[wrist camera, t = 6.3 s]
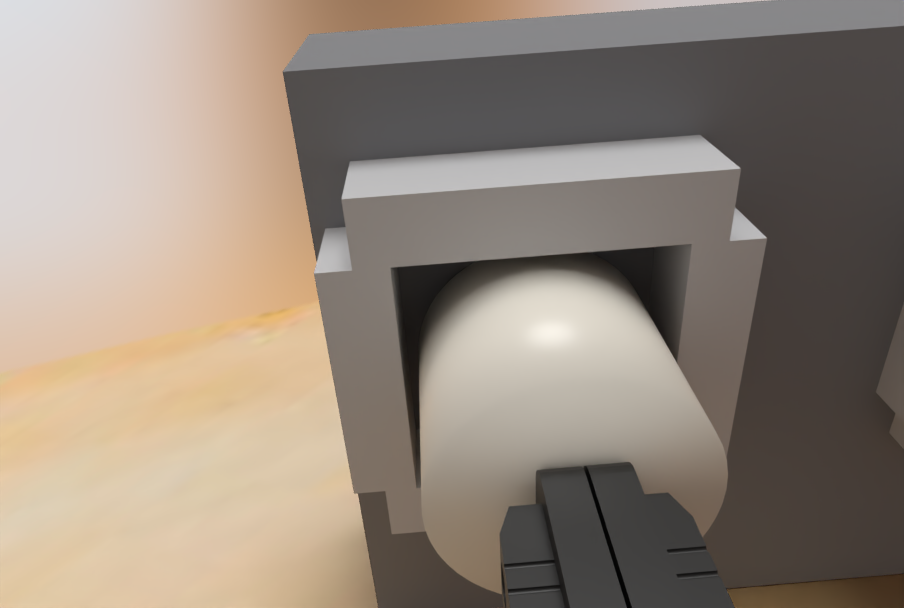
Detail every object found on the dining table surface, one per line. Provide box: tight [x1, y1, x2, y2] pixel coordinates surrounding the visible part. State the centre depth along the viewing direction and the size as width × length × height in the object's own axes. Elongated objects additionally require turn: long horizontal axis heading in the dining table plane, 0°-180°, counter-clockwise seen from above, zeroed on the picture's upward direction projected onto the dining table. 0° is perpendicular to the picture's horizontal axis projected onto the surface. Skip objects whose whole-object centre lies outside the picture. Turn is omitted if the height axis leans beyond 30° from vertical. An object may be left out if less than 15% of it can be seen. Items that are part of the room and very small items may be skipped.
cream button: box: [418, 252, 728, 594], centre depth 13 cm, size 4×5×5 cm
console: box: [283, 0, 904, 608], centre depth 19 cm, size 22×8×16 cm, turn 93°
